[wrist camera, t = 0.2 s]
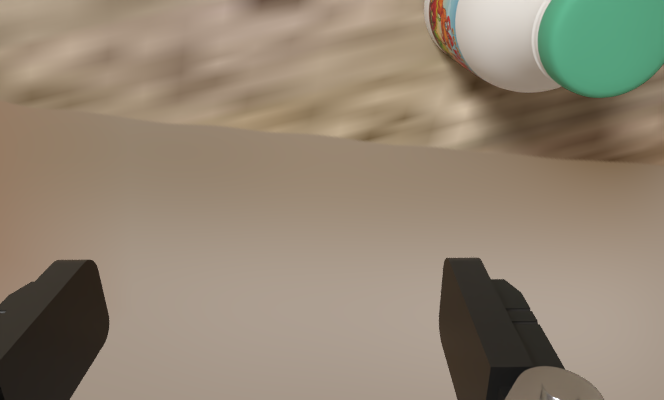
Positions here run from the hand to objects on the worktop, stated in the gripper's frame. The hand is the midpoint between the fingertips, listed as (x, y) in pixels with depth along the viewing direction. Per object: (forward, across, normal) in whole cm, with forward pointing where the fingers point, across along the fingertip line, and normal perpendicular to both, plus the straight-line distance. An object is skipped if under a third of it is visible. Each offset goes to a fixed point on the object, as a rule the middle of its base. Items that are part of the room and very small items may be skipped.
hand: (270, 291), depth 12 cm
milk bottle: (+29, -12, -4) cm, 32 cm away
